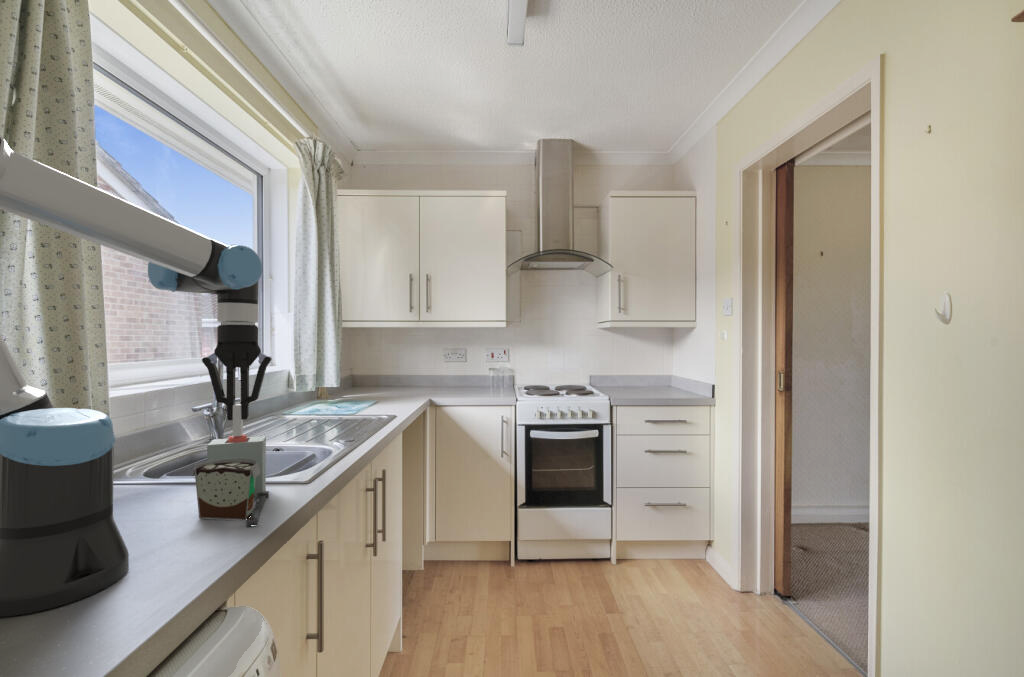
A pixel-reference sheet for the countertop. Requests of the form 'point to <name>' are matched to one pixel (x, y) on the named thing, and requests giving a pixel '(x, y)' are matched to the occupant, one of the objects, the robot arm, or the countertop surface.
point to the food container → (226, 488)
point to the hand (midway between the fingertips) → (237, 435)
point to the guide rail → (257, 509)
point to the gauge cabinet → (242, 455)
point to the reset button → (237, 439)
